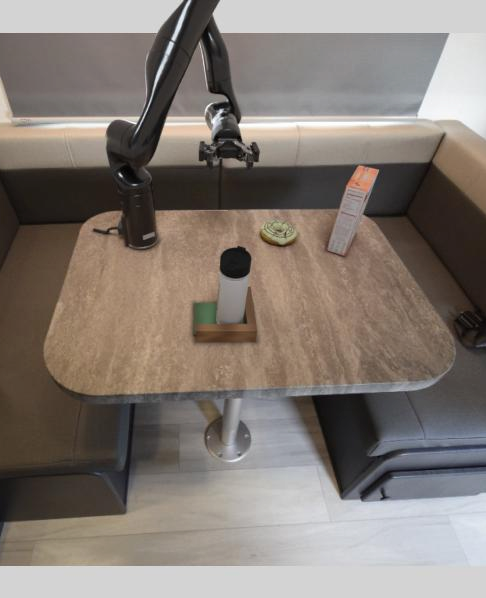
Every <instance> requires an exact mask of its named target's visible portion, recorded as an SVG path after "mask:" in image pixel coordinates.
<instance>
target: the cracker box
mask: <svg viewBox="0 0 486 598" xmlns="http://www.w3.org/2000/svg"><path fill="white" fill-rule="evenodd" d="M379 172H380V169H377V168H374V167H368V166H366V165H358V166H357V167H356V169H355V170H354V172H353V174H352V176H351V178H349V180H348V183H347V184H346V186H345V189H344V192H343V194H342V198H341V201H340V205H339V208H338V211H337V214H336V217H335V221H334V224H333V227H332V230H331V234H330V237H329V240H328V244H327V246H326V249H325V250H326V251H327V252H330V253H333V254H335V255H339V256H342V257H346V255H347V253H348V251H349V248H350V246H351V244H352V242H353V240H354V238H355V236H356V234H357V230H358V229H359V226H360V223H361V220H362V218H363V215H364V212H365V210H366V207H367V204H368V202H369V199H370V197H371V194H372V191H373V189H374V185H375V183H376V180H377V177H378V174H379Z"/></svg>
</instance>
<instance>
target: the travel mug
mask: <svg viewBox="0 0 486 598" xmlns="http://www.w3.org/2000/svg"><path fill="white" fill-rule="evenodd" d="M252 259H253V258H252V255H251V253H250V252H249V251H248V250H247V247H245V246H241V245H237V246H235V247H229V248H226V249H225V250H224V251H222V253H221V254H220V256H219V267H218V280H217V281H218V285H217V301H216V303H217V315H216V324H243V318H244V311H245V304H246V297H247V290H248V287H249V281H250V275H251V267H252Z"/></svg>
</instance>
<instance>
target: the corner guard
mask: <svg viewBox="0 0 486 598" xmlns="http://www.w3.org/2000/svg"><path fill="white" fill-rule="evenodd" d="M216 315H217V302H193V328H192V329H193V334H192V335H193V336H195V343H255V342H256V341H257V340H256V339H257V336H258V324H257V319H256V318H257V317H256V312H255V306H254V299H253V292H252V287H251V286H248V290H247V297H246V304H245V311H244V318H243V324H216Z"/></svg>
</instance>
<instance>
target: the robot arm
mask: <svg viewBox="0 0 486 598" xmlns="http://www.w3.org/2000/svg"><path fill="white" fill-rule="evenodd" d="M220 1H221V0H182V1H181V3H180V4H179V5H178V6H177V7H176V8H175V9H174V10H173V12H172V13H171V14H170V15H169V16H168V18H167V19H165V20H164V22H163V23H162V24H161V26H160V27H159V29H158V31H157V32H156V35H154V39H153V41H152V43H151V45H150V48H149V51H148V53H147V54H146V59H145V64H144V77H145V89H146V92H145V93H146V95H145V102H144V105H143V108H142V111H141V114H140V116H139V119H138V120H137V122H133V121H130V120H127V119H123V118H117V119H113V120H112V121H111V122H110V123H109V124H108V126H107V128H106V130H105V135H104V147H105V152H106V157H107V161H108V165H109V169H110V170H109V171H110V174H111V176H112V179H113V181H114V183H115V184H116V188H117V194H118V199H119V205H120V210H121V216H120V219H119V221H118V223H117V226H111V227H108V228H107V229H106V230H103V229H99V228H95V227H94V228H93V229H92V231H93V232H97V233H100V234H105V235H107V234H110V231H113V230H117V235H118V236H123V239H124V244H125V247H130V249H133V250H139V251H142V250H149V249H151V248H153V247H154V246H156V245H157V244H158V242H159V235H158V225H157V224H158V223H157V216H156V215H157V214H156V206H155V205H156V204H155V195H154V184H153V177H152V175H151V173H150V172H149V171H148V170H147V169H146V168H145V167H146V166H147V165H148V164H149V163H150V162H151V161H152V159H153V158H154V156H155V154H156V151H157V148H158V147H159V143H160V140H161V137H162V133H163V131H164V127H165V125H166V122H167V118H168V115H169V113H170V110H171V109H172V106H173V103H174V101H175V98H176V96H177V93H178V91H179V89H180V86H181V84H182V82H183V80H184V79H185V76H186V74H187V72H188V70H189V67H190V66H191V62H192V59H193V57H194V55H195V53H196V50H197V47H198V46H199V47H200V51H201V56H202V62H203V63H202V64H203V70H204V77H205V83H206V89H207V92H208V93H209V94H212V95H220V96H224V97H225V98H226V99H225V100H221V101H215V102H211V103H209V104H208V105H207V106H206V107H205V109H204V120H205V124H206V126H207V127H208V129H209V130H210V131H211V143H210V144H207V143H206V142H205V140H200V141H199V145H198V162H204V161H205V162H206V167H207V168H209V170H214V162H218V161H220V160H221V159H225V160H229V159H235V160H237V161H239V162H244V163H245V166H246V170H249V171H250V170H251V168H253V167H254V164H255V163H259V162H260V154H261V151H260V148H259V146H258V143H257V141H251V143H250V144H246V143H244V142H243V137H242V133H241V128H240V126H239V124H240V123H241V122H242V118H243V113H242V109H241V106H240V103H239V100H238V98H237V95H236V92H235V88H234V84H233V78H232V67H231V59H230V53H229V49H228V47H227V44H226V41H225V39H224V37H223V35H222V33H221V31H220V29H219V27H218V25H217V22H216V19H215V17H214V13H215V11H216V9H217V7H218V5H219V3H220Z"/></svg>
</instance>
